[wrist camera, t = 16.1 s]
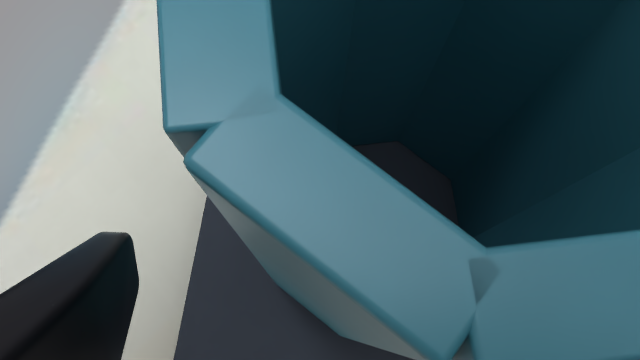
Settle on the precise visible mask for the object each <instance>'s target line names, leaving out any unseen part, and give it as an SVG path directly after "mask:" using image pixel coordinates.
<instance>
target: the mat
mask: <svg viewBox="0 0 640 360" xmlns="http://www.w3.org/2000/svg"><path fill="white" fill-rule="evenodd" d="M352 147H353V148H354V149H356V150H357V151H358V152H360V153H361V154H362V155H364V156H365V157H366V158H368V159H369V160H370V161H372V162H373V163H374V164H376V165H377V166H378V167H380V168H381V169H382V170H384V171H385V172H386V173H388V174H389V175H390V176H392V177H393V178H394V179H396V180H397V181H398V182H400V183H401V184H402V185H404V186H405V187H406V188H408V189H409V190H410V191H412V192H413V193H414V194H416V195H417V196H418V197H420V198H421V199H422V200H424V201H425V202H426V203H428V204H429V205H430V206H432V207H433V208H434V209H436V210H437V211H438V212H440V213H441V214H442V215H444V216H445V217H446V218H448V219H449V220H450V221H452V222H453V223H454V224H456V225H457V226H458V227H459V222H458V217H457V212H456V206H455V201H454V195H453V190H452V184H451V180H450V179H449V178H448V177H446V176H445V175H444V174H442V173H441V172H440V171H438V170H437V169H436V168H434V167H433V166H431V165H430V164H429V163H427V162H426V161H425V160H423V159H422V158H421V157H419V156H418V155H417V154H415V153H414V152H412V151H411V150H410V149H408V148H407V147H406V146H404V145H403V144H402V143H400V142H399V141H392V142H382V143H373V144H364V145H355V146H352ZM174 360H415V359H412V358H409V357H405V356H402V355H399V354H396V353H393V352H389V351H386V350H383V349H380V348H377V347H374V346H370V345H367V344H364V343H361V342H358V341H354V340H351V339H348V338H345V337H342V336H339V335H338V334H337V333H336V332H334V331H333V330H332V329H331V328H330V327H328V326H327V325H326V324H325V323H323V322H322V321H321V320H320V319H318V318H317V317H316V316H315V315H314V314H312V313H311V312H310V311H309V310H307V309H306V308H305V307H304V306H302V305H301V304H300V303H299V302H298V301H296V300H295V299H294V298H293V297H291V296H290V295H289V294H288V293H286V292H285V291H284V290H283V289H282V288H280V287H279V286H278V285H277V284H276V283H275V282H274V280H273V279H272V278H271V277H270V275H269V274H268V273H267V271H266V270H265V269H264V268H263V266H262V265H261V264H260V262H259V261H258V260H257V259H256V257H255V256H254V255H253V253H252V252H251V251H250V250H249V248H248V247H247V246H246V244H245V243H244V242H243V241H242V239H241V238H240V237H239V235H238V234H237V233H236V232H235V230H234V229H233V228H232V226H231V225H230V224H229V223H228V221H227V220H226V219H225V217H224V216H223V215H222V214H221V212H220V211H219V210H218V208H217V207H216V206H215V205H214V203H213V202H212V201H211V199H210V198H209V197H208V196H207V198H206V203H205V208H204V213H203V218H202V223H201V228H200V233H199V238H198V243H197V247H196V252H195V257H194V262H193V267H192V272H191V277H190V282H189V287H188V292H187V297H186V301H185V306H184V311H183V316H182V321H181V326H180V331H179V336H178V341H177V346H176V351H175V355H174Z"/></svg>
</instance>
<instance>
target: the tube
mask: <svg viewBox="0 0 640 360" xmlns="http://www.w3.org/2000/svg"><path fill="white" fill-rule="evenodd" d="M157 16H158V35H159V54H160V74H161V93H162V112H163V128H164V130H165V132H166V134H167V135H168V136H169V138H170V139H171V141H172V142H173V143H174V145H175V146H176V147H177V149H178V150H179V151H180V153H181V154H182V155H183V157H184V161H183V162H184V164H185V166H186V168H187V170H188V171H189V172H190V174H191V175H192V176H193V178H194V179H195V180H196V181H197V183H198V184H199V185H200V187H201V188H202V189H203V190H204V192H205V193H206V194H207V196H208V197H209V198H210V199H211V201H212V202H213V203H214V205H215V206H216V207H217V208H218V210H219V211H220V212H221V214H222V215H223V216H224V217H225V219H226V220H227V221H228V223H229V224H230V225H231V226H232V228H233V229H234V230H235V232H236V233H237V234H238V235H239V237H240V238H241V239H242V241H243V242H244V243H245V244H246V246H247V247H248V248H249V250H250V251H251V252H252V253H253V255H254V256H255V257H256V259H257V260H258V261H259V262H260V264H261V265H262V266H263V268H264V269H265V270H266V271H267V273H268V274H269V275H270V277H271V278H272V279H273V280H274V282H275V283H276V284H277V285H278V286H279V287H280V288H282V289H283V290H284V291H285V292H286V293H288V294H289V295H290V296H291V297H293V298H294V299H295V300H296V301H298V302H299V303H300V304H301V305H302V306H304V307H305V308H306V309H307V310H309V311H310V312H311V313H312V314H314V315H315V316H316V317H317V318H318V319H320V320H321V321H322V322H323V323H325V324H326V325H327V326H328V327H330V328H331V329H332V330H333V331H334V332H336V333H337V334H338V335H339V336H342V337H345V338H348V339H351V340H354V341H358V342H361V343H364V344H367V345H370V346H374V347H377V348H380V349H383V350H386V351H389V352H393V353H396V354H399V355H402V356H405V357H409V358H412V359H415V360H640V0H157ZM392 141H399V142H400V143H402V144H403V145H404V146H406V147H407V148H408V149H410V150H411V151H412V152H414V153H415V154H417V155H418V156H419V157H421V158H422V159H423V160H425V161H426V162H427V163H429V164H430V165H431V166H433V167H434V168H436V169H437V170H438V171H440V172H441V173H442V174H444V175H445V176H446V177H448V178H449V179H450V180H451V184H452V190H453V195H454V201H455V206H456V212H457V217H458V222H459V227H458V226H457V225H456V224H454V223H453V222H452V221H450V220H449V219H448V218H446V217H445V216H444V215H442V214H441V213H440V212H438V211H437V210H436V209H434V208H433V207H432V206H430V205H429V204H428V203H426V202H425V201H424V200H422V199H421V198H420V197H418V196H417V195H416V194H414V193H413V192H412V191H410V190H409V189H408V188H406V187H405V186H404V185H402V184H401V183H400V182H398V181H397V180H396V179H394V178H393V177H392V176H390V175H389V174H388V173H386V172H385V171H384V170H382V169H381V168H380V167H378V166H377V165H376V164H374V163H373V162H372V161H370V160H369V159H368V158H366V157H365V156H364V155H362V154H361V153H360V152H358V151H357V150H356V149H354V148H353V147H352V146H355V145H364V144H373V143H382V142H392Z"/></svg>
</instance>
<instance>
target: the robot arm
mask: <svg viewBox="0 0 640 360" xmlns="http://www.w3.org/2000/svg"><path fill="white" fill-rule="evenodd" d="M138 288H139V276H138V270H137V264H136V258H135V252H134V245H133V240H132V238H131V236H130V235H129V234H128V233H122V232H101V233H98V234H96V235H95V236H93V237H92V238H90V239H88V240H87V241H85V242H84V243H82V244H80V245H79V246H77V247H75V248H74V249H72V250H71V251H69V252H67V253H66V254H64V255H63V256H61V257H59V258H58V259H56V260H55V261H53V262H51V263H50V264H48V265H47V266H45V267H43V268H42V269H40V270H38V271H37V272H35V273H34V274H32V275H30V276H29V277H27V278H26V279H24V280H22V281H21V282H19V283H18V284H16V285H14V286H13V287H11V288H10V289H8V290H6V291H5V292H3V293H2V294H0V360H121V357H122V353H123V349H124V345H125V341H126V337H127V334H128V330H129V326H130V322H131V318H132V314H133V310H134V306H135V302H136V298H137V294H138Z"/></svg>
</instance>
